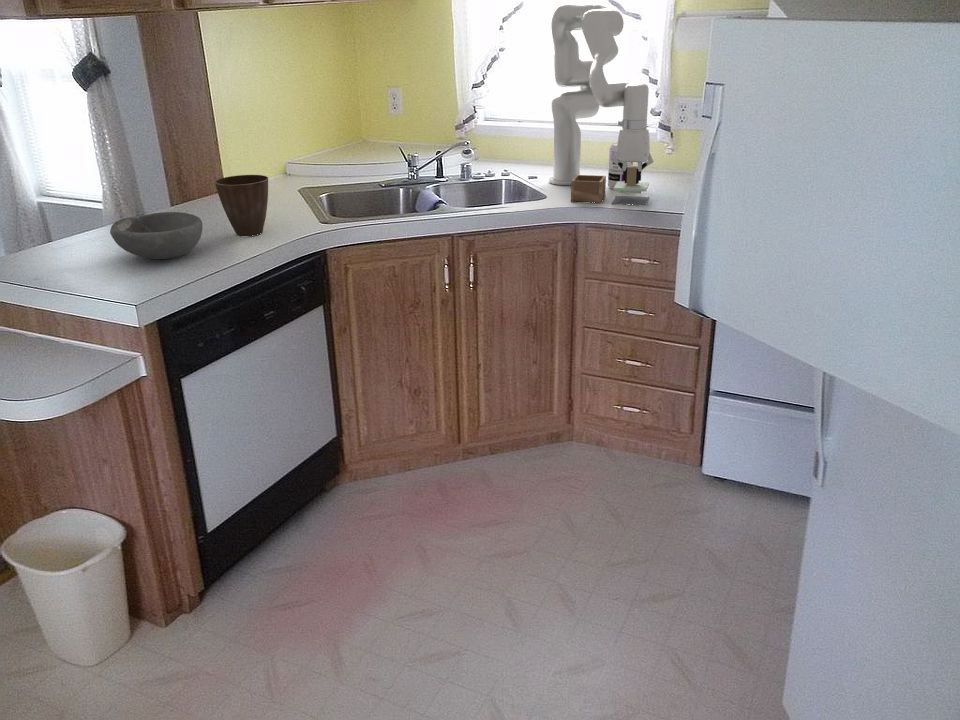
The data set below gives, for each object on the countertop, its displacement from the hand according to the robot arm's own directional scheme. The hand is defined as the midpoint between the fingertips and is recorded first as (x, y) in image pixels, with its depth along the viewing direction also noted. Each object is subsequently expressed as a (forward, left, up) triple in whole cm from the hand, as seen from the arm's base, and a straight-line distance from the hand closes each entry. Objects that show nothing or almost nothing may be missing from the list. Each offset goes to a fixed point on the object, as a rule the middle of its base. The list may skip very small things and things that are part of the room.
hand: (631, 182), depth 266 cm
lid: (0, 0, -2) cm, 2 cm away
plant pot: (+62, -105, -6) cm, 122 cm away
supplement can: (-20, -6, -6) cm, 22 cm away
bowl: (+88, -116, -7) cm, 146 cm away
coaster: (0, 0, -6) cm, 6 cm away
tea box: (0, -14, -6) cm, 15 cm away
